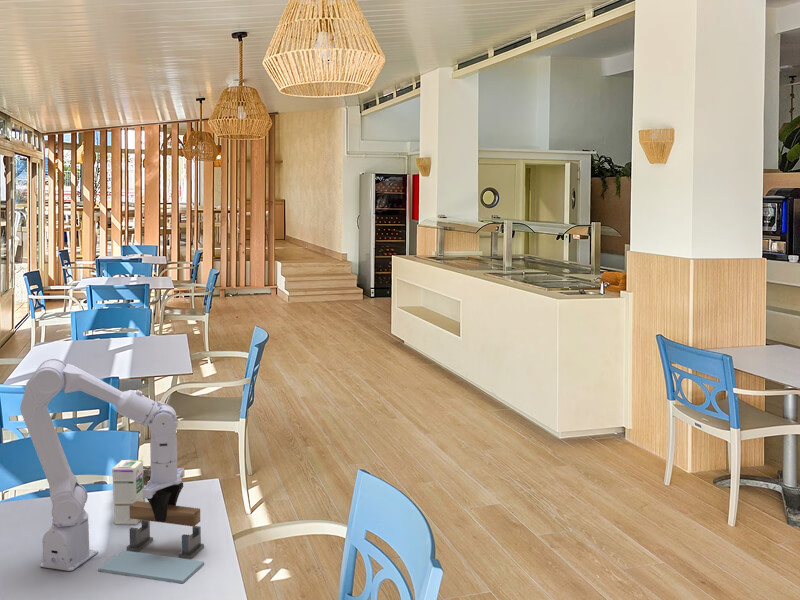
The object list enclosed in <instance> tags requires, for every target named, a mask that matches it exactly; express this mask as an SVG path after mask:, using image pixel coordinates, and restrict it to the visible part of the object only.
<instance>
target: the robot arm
mask: <svg viewBox="0 0 800 600" xmlns="http://www.w3.org/2000/svg"><path fill="white" fill-rule="evenodd" d="M62 389H64V392H63V393H64V394H67V393H73V392H79V391H80V392H83V393H85V394H87V395H89V396H92V397H95V398H98V399H99V400H101V401H104V402H106V403H109V404H111V405H114V407H115V408H116V409H115V410H116V412H117V414H118V415H121V416H122V417H125V418H127V419H129V420H131V421H134V422H136V423H137V424H140V425H142V426H144V427H148V428H149V431H150V432H151V433H150V434H151V435H150V436H151V437H150V441H149V444H150V445H149V447H150V452H149V453H150V455H149V457H150V479H149V480H148V482H147V484H146V485H145V486H144V488H143V489H142V498H145V499H146V500H147V502H149V503H150V505H151V507H152V510H153V513H154V517H155V520H156V521H160V522H159V523H162V522H164V521H165V520H166V514H167V505H175V506H177V502H178V499H179V496H180V494H181V491H182V490H183V488H184V482H183V481H182V479H183V478H184V477H185V468H183V467H182V468H181V467H180V468H179V467H178V438H177V427H178V422H177V419H178V418H177V413H176V410H175V409H174V407H172V406H171V405H169V404H168V403H162V401H160V400H157V401H155V400H154V399H151V398H149V397H147V396H145V395H143V391H141V390H139V389H137V390H136V391H135V390H133V389H128V390H125V391H121V390H119V389H118V388H116V387H114V386H113V385H111V384H109V383H107V382H105V381H103V380H101V379H99V378H97V377H96V376H94V375H92V374H90V373H88V372H87V371H85V370H83V369H81V368H79V367H77V366H76V365H73V364H70V363H67V364H66V362H64V361H63V360H61V359H58V358H48V359H47V360H45V361H43V362H42V363H41V364H40V365H38V367H37V369H36V370H35V371H34V372H33V374H32V375H31V376H30V378H29V379H28V380H27V381H26V385H25V390H24V391H23V396H22V400H21V402H20V406H19V407H20V408H19V409H20V414H21V416H22V418H23V420H24V423H25V426H26V429H27V431H28V434H29V437H30V439H31V441H32V445H33V448H34V449H35V452H36V454H37V458H38V460H39V461H40V464H41V465H40V466H41V468H42V471H43V473H44V475H45V477H46V480H47V482H48V486H49V489H48V490H49V496H50V497H49V498H50V500H51V507H52V508H51V517H52V520H51V521H52V524H51V526H50V528H49V529H48V530H47V531H46V532H45V533H44V535H43V536H42V542H41V543H42V562H41V563H40V564H39V567H42V568H46V569H47V568H48V569H53V570H54V569H55V570H60V571H65V572H67V571H68V572H72V571H75V570H76V569H77V568H78V567H80V566H81V565H83V564H85V562H87V561H88V560H90V559H91V558H93V557H94V556H96V555H97V554H98V553H99V551H98V550H97V549H90V530H89V529H90V526H89V525H90V524H89V513H88V512H86V509H85V507H86V503H87V501H88V491H87V489H86V488H85V487H84V486H83V485H82V484H81V483H79V481H78V479H77V476H76V475H75V474H74V473H73V472H72V469H71V467H70V464H69V462H68V461H69V460H67V456H66V453H65V451H64V449H63V446H62V443H61V441H60V437H59V435H58V433H57V430H56V428H55V425H54V423H53V419H52V417H51V415H50V412H49V408H48V405H49V404H50V402H51V401H52V399H53V398H54V397H56V395H57V394H59V393H60V392H61V390H62Z"/></svg>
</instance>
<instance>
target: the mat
mask: <svg viewBox="0 0 800 600" xmlns="http://www.w3.org/2000/svg"><path fill="white" fill-rule="evenodd" d="M204 565H205V561H201V560H195V559H188V558H181V557H173V556H167V555H159V554H151V553H146V552H145V553H144V552H137V551H130V550H121V551H119V553H117V554H116V555H114V556H113V557H112V558H110V559H109V560H108V561H106V562H105V563H103V564H102V565H100V566H99V567H98V568H97V571H98V572H102V573H109V574H115V575H122V576H130V577H136V578H144V579H148V580H149V579H150V580H156V581H163V582H171V583H177V584H184V583H185V582H186V581H188V579H190V578H191V577H192V576H193V575H194V574H195V573H196V572H198V570H200V569H201V568H202V567H203V566H204Z"/></svg>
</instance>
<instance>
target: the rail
mask: <svg viewBox="0 0 800 600" xmlns="http://www.w3.org/2000/svg"><path fill="white" fill-rule="evenodd" d="M129 507H130V518H131V519H138V520H140V521H142V520H146V521H150V522H155V523H164V524H170V525H171V524H172V525H178V526H187V527H194V526H198V524H199V523H200V522H201V508H199V507H190V506H183V505H176V506H175V505H167V514H166V520H165V521H164V522H160V521H156V520H155V517H154V513H153V510H152V507H151V505H150V503H149V501H145V502H142V501H136V502H134V503H133V504H131V505H130V506H129Z"/></svg>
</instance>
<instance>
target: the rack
mask: <svg viewBox="0 0 800 600" xmlns="http://www.w3.org/2000/svg"><path fill="white" fill-rule="evenodd" d="M140 521H141V527H139V528H137V527H130V528H129V544H128V545H127V546H126V551H131V552H138V553H140V551H142V550H143V549H144V548H145V547H147V546H148V545H150V544H151V543H152V542H154V537H153V536H151V531H150V530H151V529H150V528H151V526H150V525H151V524H150V522H151V521H146V520H140ZM191 527H192V528H191V529H192V533H191V534H181V551H180V552H179V553H178V558H182V559H189V560H192V559H193V558H194V557H195V556H196V555H197V554H199V553H200V552H201V551H203V549H204V548H205V544H204V543H202V542H201V541H202V540H201V539H202V538H201V537H202V535H201V533H202V531H201V529H202V528H201V526H199V525H195V526H194V527H193V526H191Z"/></svg>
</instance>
